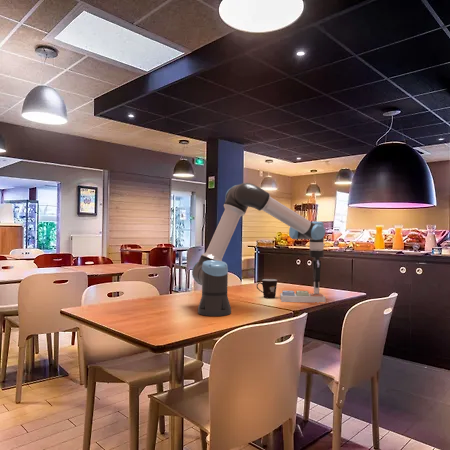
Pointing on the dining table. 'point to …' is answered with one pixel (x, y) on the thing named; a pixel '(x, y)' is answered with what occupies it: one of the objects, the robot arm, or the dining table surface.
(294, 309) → the dining table surface
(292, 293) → the tile one
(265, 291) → the coffee mug
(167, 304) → the dining table surface
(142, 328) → the dining table surface
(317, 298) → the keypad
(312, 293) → the tile three
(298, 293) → the tile two
